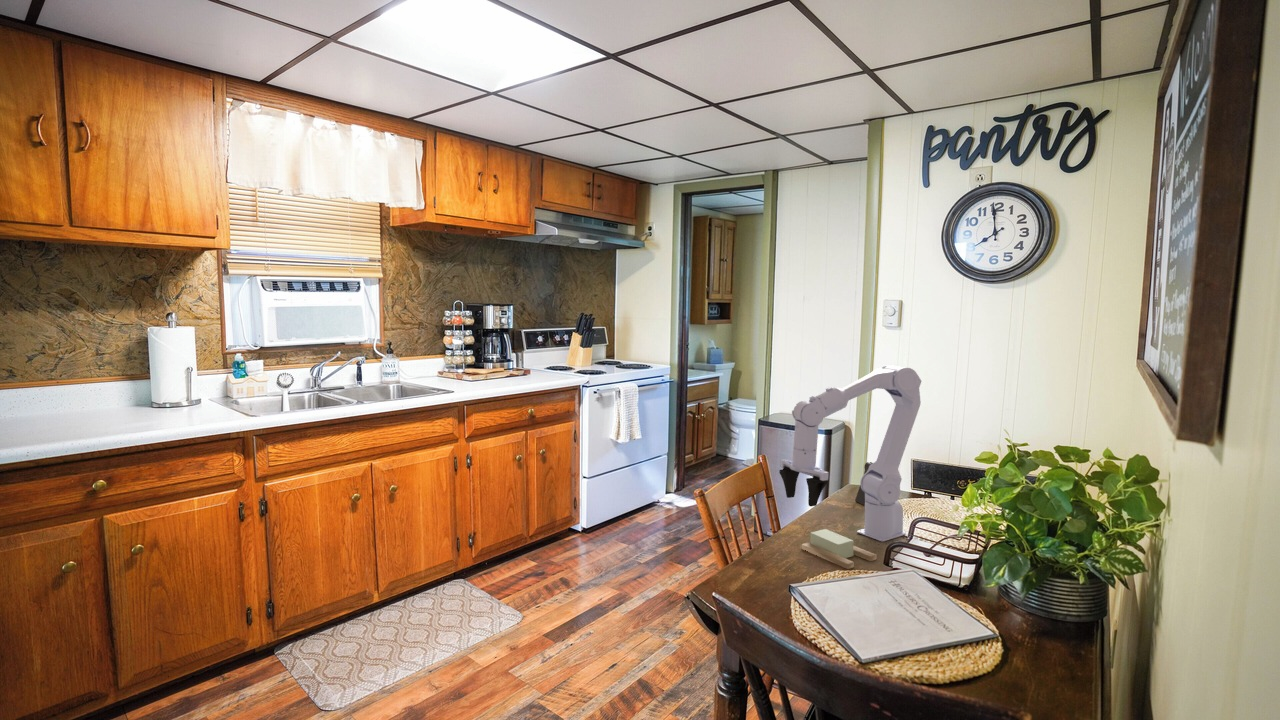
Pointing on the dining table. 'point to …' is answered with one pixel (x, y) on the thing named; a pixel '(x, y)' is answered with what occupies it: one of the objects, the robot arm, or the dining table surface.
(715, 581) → the dining table surface
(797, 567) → the dining table surface
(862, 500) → the door stopper
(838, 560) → the twin beige rails
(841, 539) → the green block
